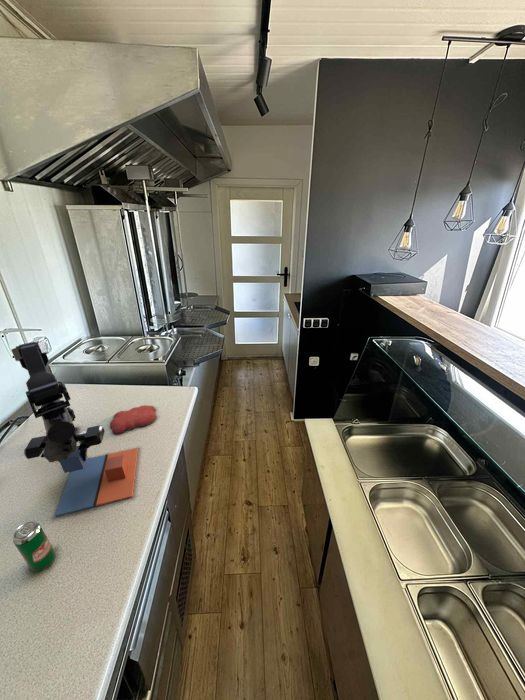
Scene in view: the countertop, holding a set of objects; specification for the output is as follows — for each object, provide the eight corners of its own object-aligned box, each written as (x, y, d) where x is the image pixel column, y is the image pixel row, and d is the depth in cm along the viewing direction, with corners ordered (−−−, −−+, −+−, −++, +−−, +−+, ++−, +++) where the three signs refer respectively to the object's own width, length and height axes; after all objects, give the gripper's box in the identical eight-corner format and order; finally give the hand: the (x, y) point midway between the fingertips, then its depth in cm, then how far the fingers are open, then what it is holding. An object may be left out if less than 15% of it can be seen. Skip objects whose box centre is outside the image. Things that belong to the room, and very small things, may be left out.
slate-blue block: (69, 460, 88) (64, 448, 85) (87, 456, 89) (82, 444, 87) (64, 473, 83) (58, 460, 81) (83, 469, 85) (78, 456, 82)
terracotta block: (111, 469, 93) (107, 458, 91) (127, 465, 95) (124, 454, 92) (108, 481, 89) (104, 470, 87) (125, 477, 90) (122, 466, 88)
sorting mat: (75, 462, 97) (74, 461, 97) (138, 449, 102) (137, 447, 102) (55, 516, 80) (54, 515, 79) (132, 497, 85) (131, 495, 84)
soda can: (43, 574, 67) (23, 544, 62) (25, 570, 68) (4, 539, 63) (61, 552, 71) (44, 521, 66) (44, 548, 72) (26, 517, 67)
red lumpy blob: (110, 437, 108) (109, 433, 107) (110, 416, 119) (108, 412, 118) (158, 422, 115) (157, 418, 114) (153, 404, 126) (153, 400, 125)
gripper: (3, 450, 70) (28, 493, 76) (88, 433, 74) (104, 475, 81) (23, 421, 79) (43, 462, 86) (97, 408, 84) (111, 447, 91)
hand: (75, 462), depth 86 cm, fingers closed on slate-blue block, 5 cm apart
